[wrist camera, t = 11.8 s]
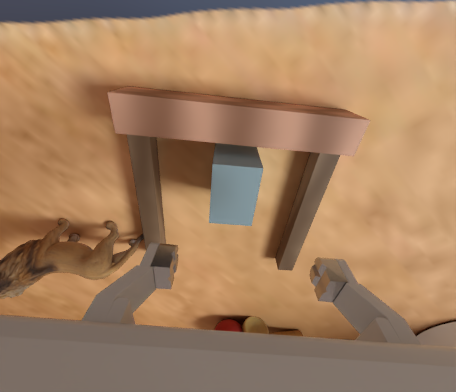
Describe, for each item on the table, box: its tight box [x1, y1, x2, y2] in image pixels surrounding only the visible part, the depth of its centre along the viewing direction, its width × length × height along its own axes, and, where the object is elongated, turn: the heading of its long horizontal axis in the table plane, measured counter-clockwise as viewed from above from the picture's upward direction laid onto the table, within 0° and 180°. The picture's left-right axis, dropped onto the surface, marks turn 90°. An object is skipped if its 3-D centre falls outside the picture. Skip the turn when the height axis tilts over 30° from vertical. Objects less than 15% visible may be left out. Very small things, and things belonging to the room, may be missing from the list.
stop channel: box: [107, 86, 370, 270], centre depth 23 cm, size 20×21×4 cm
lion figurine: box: [0, 218, 144, 299], centre depth 24 cm, size 15×5×9 cm, turn 92°
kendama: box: [214, 316, 303, 336], centre depth 40 cm, size 8×6×18 cm
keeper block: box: [209, 143, 263, 226], centre depth 20 cm, size 4×6×6 cm, turn 175°
